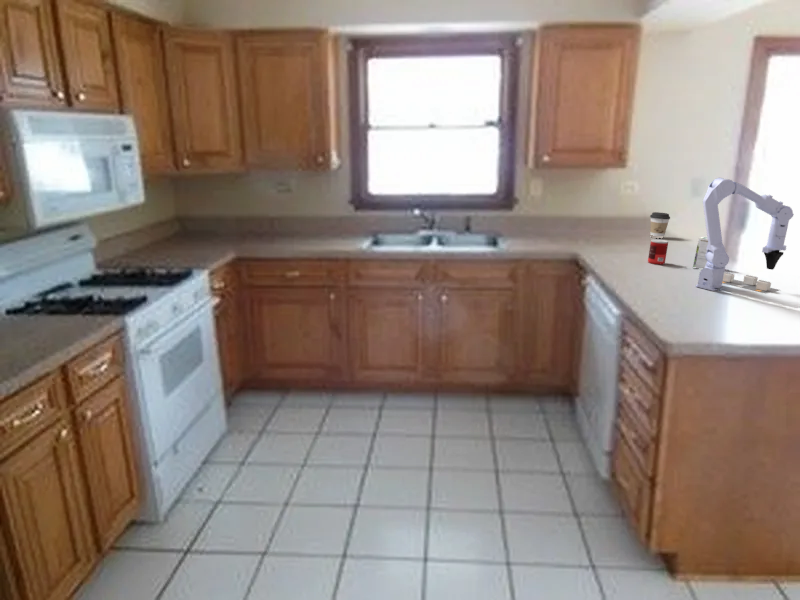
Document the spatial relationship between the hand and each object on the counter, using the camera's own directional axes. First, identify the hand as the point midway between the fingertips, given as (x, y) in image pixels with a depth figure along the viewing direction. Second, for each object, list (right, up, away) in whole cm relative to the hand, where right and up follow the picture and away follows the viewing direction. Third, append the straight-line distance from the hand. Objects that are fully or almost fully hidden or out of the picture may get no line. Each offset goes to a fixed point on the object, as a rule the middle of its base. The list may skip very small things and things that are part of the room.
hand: (770, 269), depth 247 cm
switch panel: (-6, -7, +8) cm, 12 cm away
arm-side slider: (-11, -5, +13) cm, 17 cm away
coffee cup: (+6, +25, +123) cm, 125 cm away
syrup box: (-7, +2, +42) cm, 42 cm away
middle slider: (-3, -6, +9) cm, 11 cm away
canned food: (-25, +5, +50) cm, 56 cm away
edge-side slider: (-3, -8, +1) cm, 9 cm away
